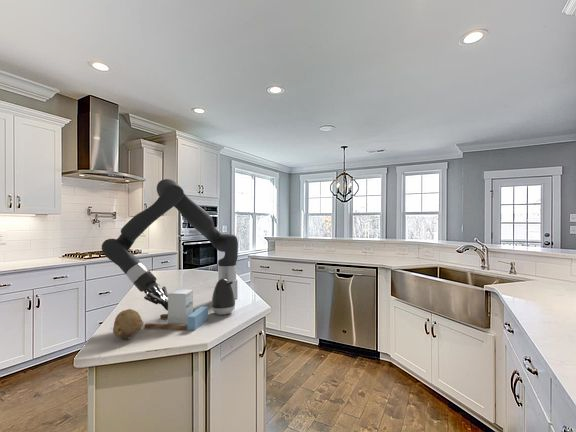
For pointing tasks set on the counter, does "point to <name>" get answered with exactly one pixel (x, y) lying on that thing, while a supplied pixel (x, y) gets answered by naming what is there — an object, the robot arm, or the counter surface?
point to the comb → (165, 325)
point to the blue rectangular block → (197, 318)
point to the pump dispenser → (223, 297)
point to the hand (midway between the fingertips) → (170, 308)
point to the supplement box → (179, 306)
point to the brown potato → (127, 324)
